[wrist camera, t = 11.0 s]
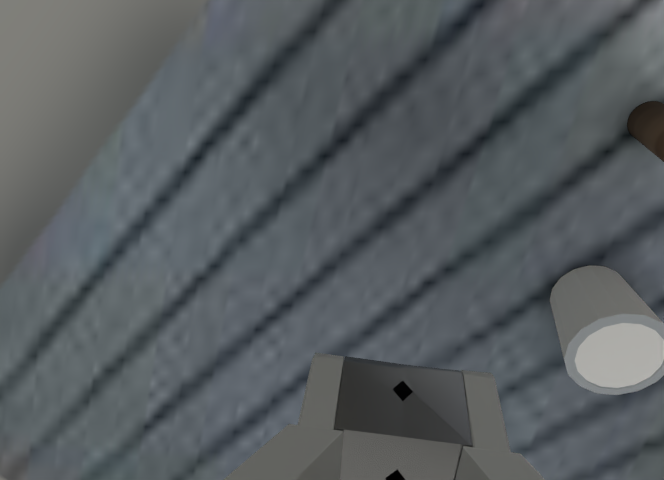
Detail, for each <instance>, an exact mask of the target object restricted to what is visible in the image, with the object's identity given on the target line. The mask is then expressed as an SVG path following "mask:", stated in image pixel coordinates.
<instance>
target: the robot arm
mask: <svg viewBox="0 0 664 480" xmlns="http://www.w3.org/2000/svg"><path fill="white" fill-rule="evenodd" d="M224 480H545V479H544V478H543V477H542V476H541V475H540V474H539V473H538V472H537V471H536V470H535V468H534V467H533V466H532V465H531V464H530V463H529V462H528V461H527V460H526V459H525V458H524V457H523V456H522V455H521V454H519V453H512V452H511V451H510V446H509V442H508V437H507V433H506V428H505V423H504V419H503V414H502V410H501V405H500V401H499V396H498V391H497V387H496V382H495V378H494V376H493V375H492V374H491V373H485V372H475V371H464V370H461V371H459V370H450V369H441V368H432V367H422V366H413V365H404V364H397V363H389V362H382V361H375V360H368V359H361V358H354V357H347V356H345V359H344V357H343V356H336V355H328V354H321V353H315V355H314V357H313V359H312V363H311V368H310V372H309V377H308V381H307V386H306V390H305V395H304V399H303V404H302V408H301V413H300V417H299V422H298V425H292V424H288V425H287V426H286V427H285V428H284V429H283V430H281V431H280V432H279V433H278V434H277V435H275V436H274V437H273V438H272V439H271V440H270V441H268V442H267V443H266V444H265V445H264V446H263V447H261V448H260V449H259V450H258V451H257V452H255V453H254V454H253V455H252V456H251V457H250V458H248V459H247V460H246V461H245V462H244V463H242V464H241V465H240V466H239V467H238V468H237V469H235V470H234V471H233V472H232V473H231V474H230V475H228V476H227V477H226V478H225V479H224Z"/></svg>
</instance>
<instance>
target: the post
mask: <svg viewBox="0 0 664 480" xmlns="http://www.w3.org/2000/svg"><path fill="white" fill-rule="evenodd" d="M627 127H628V131H629V132H630V134H631V135H632V136H633V137H634V138H636V139H637V140H638V141H639V142H640V143H642V144H643V145H644V146H645V147H647V148H648V149H649V150H650V151H651V152H653V153H654V154H655V155H656V156H657V157H659V158H660V159H661V160H662V161H663V162H664V104H662V103H660V102H656V101H651V102H646V103H643V104H641V105H639V106H638V107H637V108H635V109H634V110H633V112H632V113H631V114H630V116H629V119H628V123H627Z"/></svg>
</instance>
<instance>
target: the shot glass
mask: <svg viewBox="0 0 664 480" xmlns="http://www.w3.org/2000/svg"><path fill="white" fill-rule="evenodd" d="M550 304H551V308H552V312H553V316H554V320H555V324H556V329H557V333H558V337H559V341H560V345H561V349H562V353H563V357H564V361H565V365H566V369H567V372H568V375H569V376H570V377H571V378H572V379H573V380H574V381H575V382H576V383H577V384H578V385H579V386H580V387H583V388H585V389H588V390H590V391H592V392H595V393H599V394H611V395H620V394H625V393H630V392H636V391H639V390H641V389H643V388H645V387H647V386H649V385H651V384H653V383H655V382H657V381H658V380H659V379H660V378H661V377H662V376H663V375H664V323H663V322H662V321H661V320H660V319H659V318H658V317H657V316H656V314H655V313H654V312H653V311H652V310H651V309H650V308H649V307H648V306H647V304H646V303H645V302H644V301H643V300H642V299H641V298H640V297H639V296H638V294H637V293H636V292H635V291H634V290H633V289H632V288H631V287H630V285H629V284H628V283H627V282H626V281H625V280H624V279H623V278H622V277H621V275H620V274H619V273H618V272H616V271H614V270H612V269H610V268H607V267H605V266H591V265H589V266H585V267H581V268H577V269H573V270H572V271H570V272H569V273H567V274H565V275H564V276H562V277H561V278H560V279H559V280H558V282H557V283H556V284H555V285H554V287H553V288H552V292H551V296H550Z"/></svg>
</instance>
